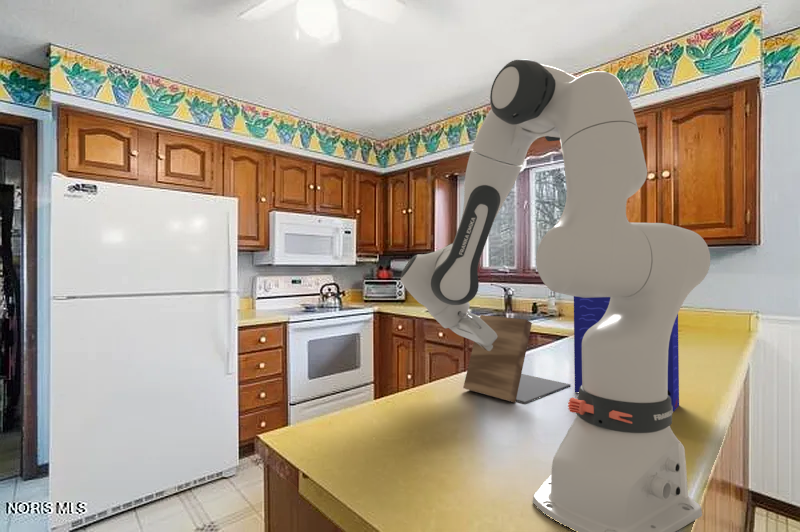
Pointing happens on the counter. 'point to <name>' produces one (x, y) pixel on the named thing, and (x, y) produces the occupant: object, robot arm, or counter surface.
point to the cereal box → (591, 313)
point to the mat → (536, 388)
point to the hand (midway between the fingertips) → (489, 348)
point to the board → (499, 359)
